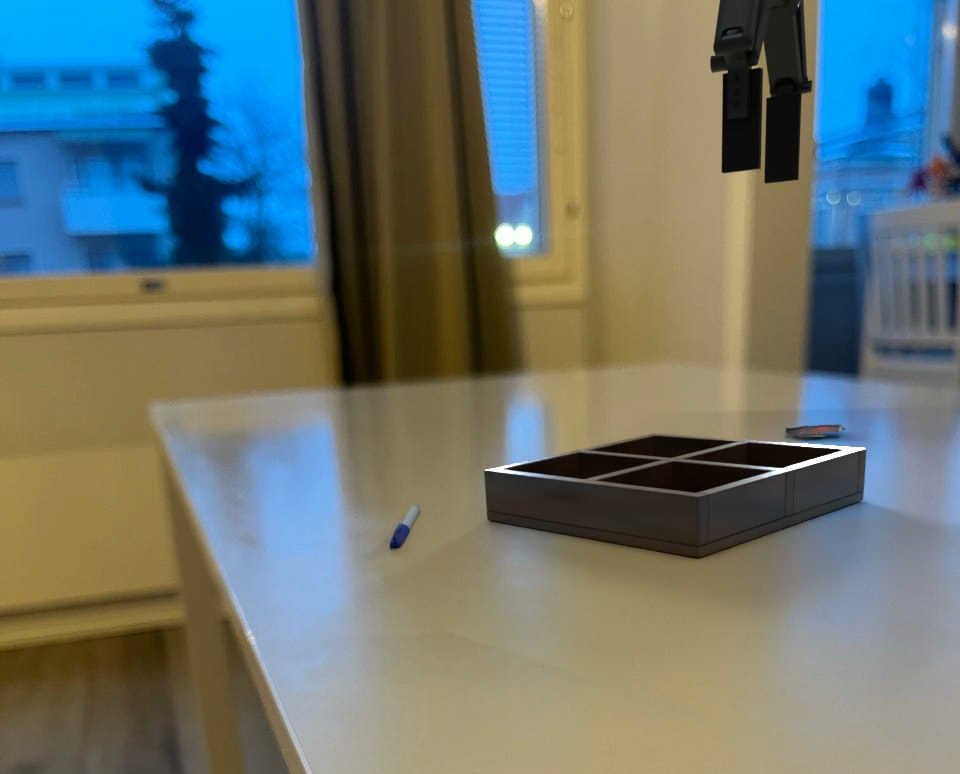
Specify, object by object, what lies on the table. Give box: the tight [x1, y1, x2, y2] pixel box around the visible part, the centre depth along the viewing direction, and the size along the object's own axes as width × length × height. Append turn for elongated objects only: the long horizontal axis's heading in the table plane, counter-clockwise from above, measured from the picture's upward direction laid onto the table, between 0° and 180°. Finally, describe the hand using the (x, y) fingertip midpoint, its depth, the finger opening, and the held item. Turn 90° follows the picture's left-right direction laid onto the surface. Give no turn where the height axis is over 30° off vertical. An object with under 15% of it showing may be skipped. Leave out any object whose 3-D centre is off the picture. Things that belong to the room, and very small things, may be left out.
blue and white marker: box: [389, 504, 421, 550], centre depth 61 cm, size 10×1×1 cm, turn 178°
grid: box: [483, 432, 867, 559], centre depth 60 cm, size 16×16×3 cm
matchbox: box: [784, 423, 847, 439], centre depth 83 cm, size 5×5×1 cm
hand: (762, 177), depth 79 cm, fingers open, 13 cm apart
